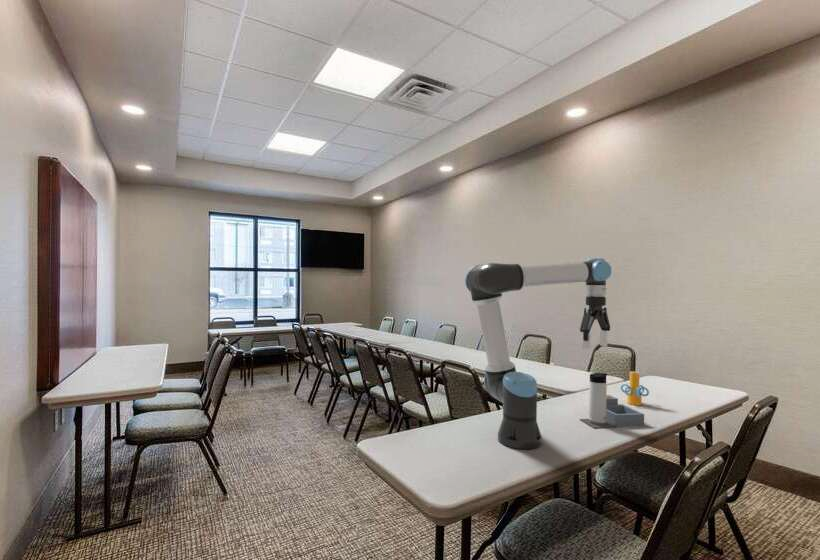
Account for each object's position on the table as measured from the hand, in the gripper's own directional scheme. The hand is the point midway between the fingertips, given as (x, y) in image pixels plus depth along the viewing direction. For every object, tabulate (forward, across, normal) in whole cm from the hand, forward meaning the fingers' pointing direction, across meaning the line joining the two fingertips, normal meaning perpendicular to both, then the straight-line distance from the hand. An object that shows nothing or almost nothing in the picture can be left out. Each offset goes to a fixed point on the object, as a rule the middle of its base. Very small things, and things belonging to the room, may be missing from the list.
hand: (595, 347), depth 164 cm
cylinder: (+31, +41, +2) cm, 51 cm away
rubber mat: (+30, -1, -2) cm, 31 cm away
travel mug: (+30, -1, -2) cm, 30 cm away
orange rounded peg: (+30, +15, +3) cm, 34 cm away
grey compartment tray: (+30, +12, -2) cm, 33 cm away
